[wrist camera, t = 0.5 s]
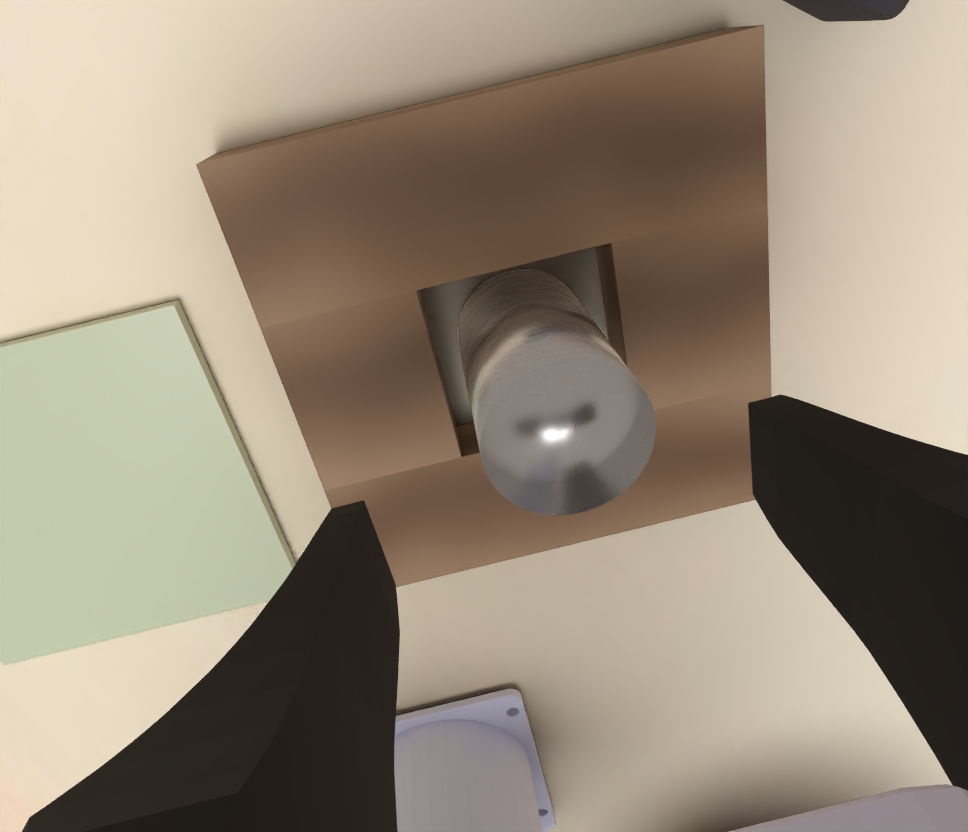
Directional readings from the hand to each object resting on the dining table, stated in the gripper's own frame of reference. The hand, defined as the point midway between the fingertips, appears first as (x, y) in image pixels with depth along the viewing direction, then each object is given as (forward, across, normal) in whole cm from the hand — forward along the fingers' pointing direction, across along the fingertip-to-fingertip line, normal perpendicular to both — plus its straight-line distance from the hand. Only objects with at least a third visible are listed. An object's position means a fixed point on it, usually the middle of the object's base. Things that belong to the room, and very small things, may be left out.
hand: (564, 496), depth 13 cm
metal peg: (+10, -1, +1) cm, 10 cm away
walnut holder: (+10, -1, +1) cm, 10 cm away
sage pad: (+10, +14, +2) cm, 18 cm away
